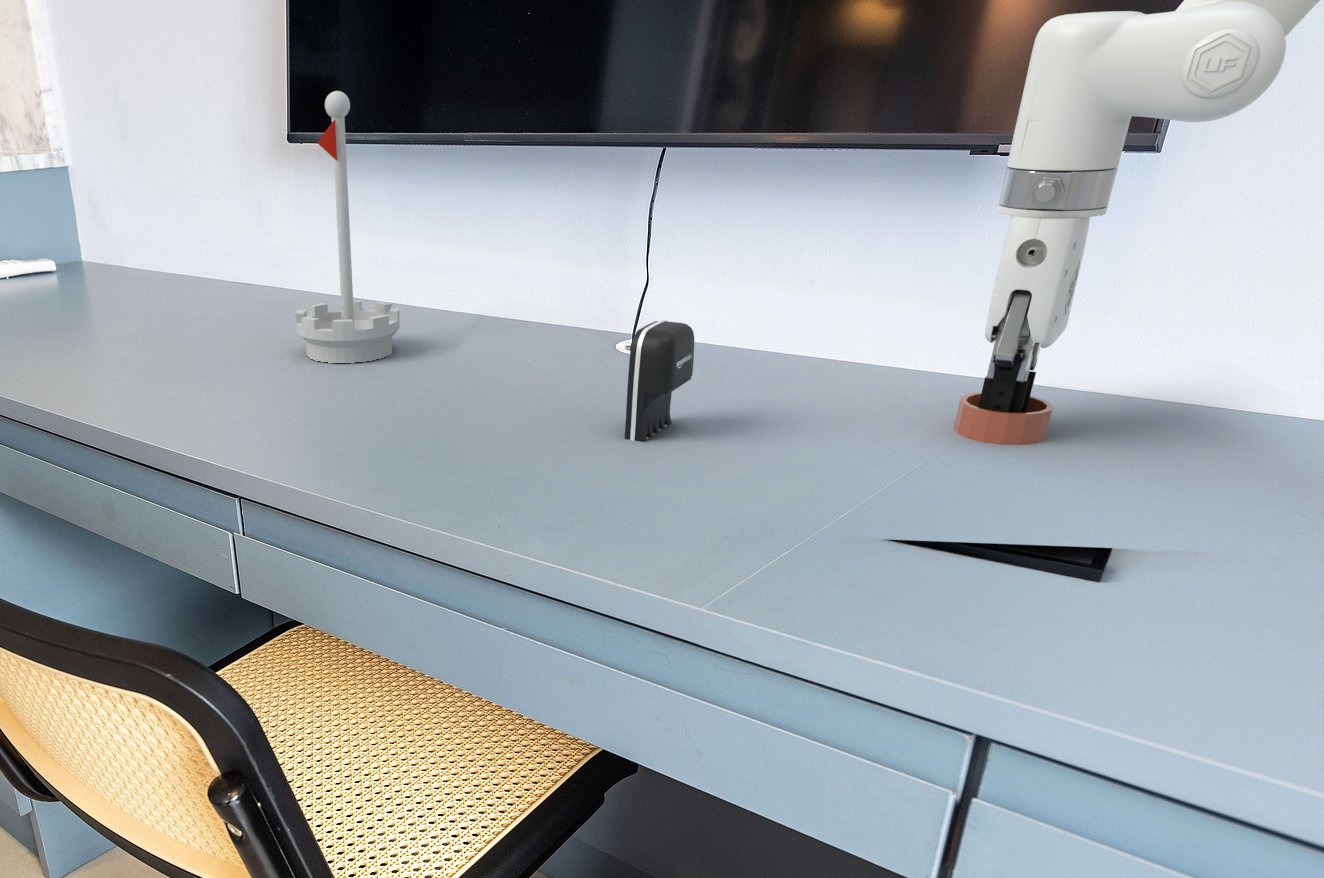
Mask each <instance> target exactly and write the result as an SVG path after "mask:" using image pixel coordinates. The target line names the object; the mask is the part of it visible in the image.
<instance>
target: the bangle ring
mask: <svg viewBox="0 0 1324 878" xmlns="http://www.w3.org/2000/svg"><path fill="white" fill-rule="evenodd" d="M981 393H982V391H979V392H971V393H967V394H965V395H962V396H961V398H960V399H959V403H958V407H957V411H956V417H955V420H954V425H953V431H955V432H956V434H957V435H959V436H962V437H964V438H966V439H969V440H973V441H977V442H981V443H986V444H994V445H1005V446H1025V445H1035V444H1038V443H1041V442H1043V441H1045V439H1046V437H1047V434H1048V431H1049V425H1050V422H1051V418H1052V414H1053V411H1054V405H1053V404H1052V403H1051V402H1050V401H1048V400H1046V399H1043V398H1040V397H1037V396H1034V395H1030V399H1029V403H1028V407H1027V410H1026V413H1008V412H999V411H992V410H987V409H982V408H978V406H979V401H980V397H981Z"/></svg>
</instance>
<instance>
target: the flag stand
mask: <svg viewBox="0 0 1324 878" xmlns="http://www.w3.org/2000/svg"><path fill="white" fill-rule="evenodd" d="M324 108H325V112H326V114H327V115H328V116H329V117H330V118H331V123H330V125H329V126H328V127H327V129H325V131H324V133H323V134H322V135H321V137H320V138H319V140H318V141H317V142H316V144H317V145H318V146H320V147H321V148H322V149H323V150H324V151H325V152H326V153H327V154H329V155H330V156H331V157H332V158H333V170H334V171H333V172H334V192H335V210H336V212H335V213H336V231H337V247H338V248H337V249H338V267H339V286H340V289H339V290H340V307H341V309H338V310H337V309H336V310H329V309H328V308H329V307H328V306H329V305H328V303H325V302H321V303H316V304H311V305H308V306H307V307H308V312H307V309H297V310H296V311H295V323H296V325H295V326H296V334H297V335H299V337H301V338H302V339H303V340H304V341H305V350H306V351H305V352H306V357H307V356H308V357H309V358H310V359H309V358H308V357H307V358H308V359H309V360H311V359H313V360H315V361H314V362H317V361H321V362H320V363H322V362H328V363H327V364H332V363H351V364H356V363H355V362H363V363H367V362H366V361H370V362H373V361H372V360H375V361H377V360H376V359H379V360H382V359H385V358H387V357H389V356H391V355H392V354H393V336H394V335H396V334H397V332H398V331H399V330H400V327H401V326H400V307H398V306H397V307H393V303H390V302H386V301H375V302H373V309H363V301H362V300H361V299H360V300H359V299H358V300H354V289H353V269H352V267H353V266H352V245H351V227H350V225H351V224H350V204H349V187H348V185H349V183H348V166H347V165H348V163H347V162H348V161H347V140H346V123H345V117H346V116H347V115H348V114H349V112H350V109H351V102H350V99H349V97H348V95H347V94H346V93H344V92H343V91H341V90H335V91H332V92H330V93H329V94H328V95H327V96H326V98H325V100H324ZM307 313H308V314H307ZM390 354H391V355H390ZM388 355H389V356H388ZM386 356H387V357H386ZM384 357H385V358H384ZM381 358H382V359H381ZM313 360H312V361H313Z"/></svg>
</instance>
